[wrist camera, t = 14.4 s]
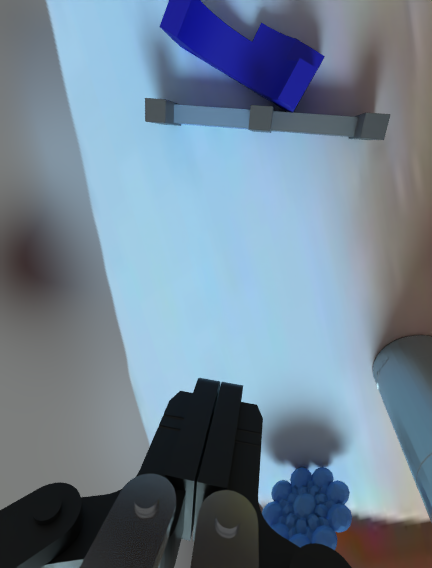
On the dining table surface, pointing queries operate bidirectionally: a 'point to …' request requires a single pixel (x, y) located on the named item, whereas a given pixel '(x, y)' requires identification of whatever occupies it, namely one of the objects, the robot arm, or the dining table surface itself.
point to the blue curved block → (244, 52)
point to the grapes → (309, 508)
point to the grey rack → (267, 120)
